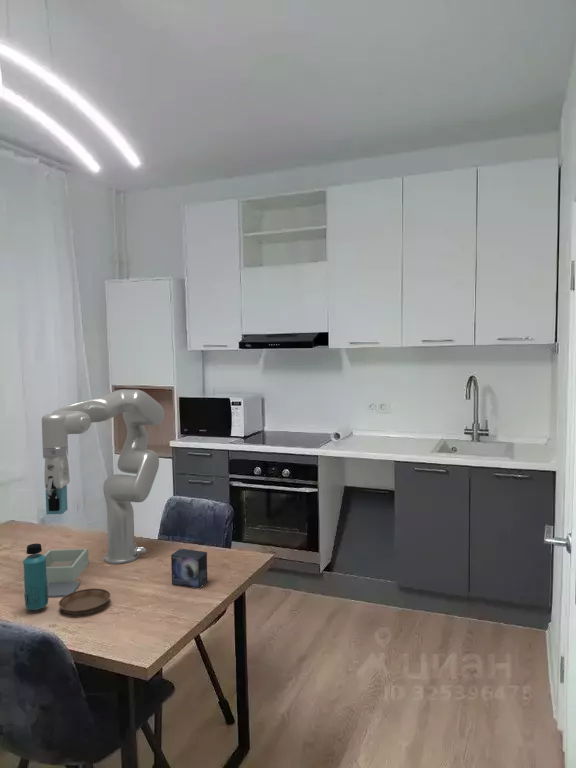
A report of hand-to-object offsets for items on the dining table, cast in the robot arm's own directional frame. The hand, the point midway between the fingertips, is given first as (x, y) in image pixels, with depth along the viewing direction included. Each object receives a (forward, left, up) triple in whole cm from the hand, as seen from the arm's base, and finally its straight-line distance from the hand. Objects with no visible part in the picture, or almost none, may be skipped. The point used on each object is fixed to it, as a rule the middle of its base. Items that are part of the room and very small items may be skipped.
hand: (57, 507), depth 180 cm
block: (0, 0, -1) cm, 1 cm away
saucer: (-12, +13, -28) cm, 33 cm away
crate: (+4, -14, -27) cm, 31 cm away
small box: (-42, -1, -28) cm, 50 cm away
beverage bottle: (+2, +14, -28) cm, 31 cm away
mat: (0, 0, -27) cm, 27 cm away
